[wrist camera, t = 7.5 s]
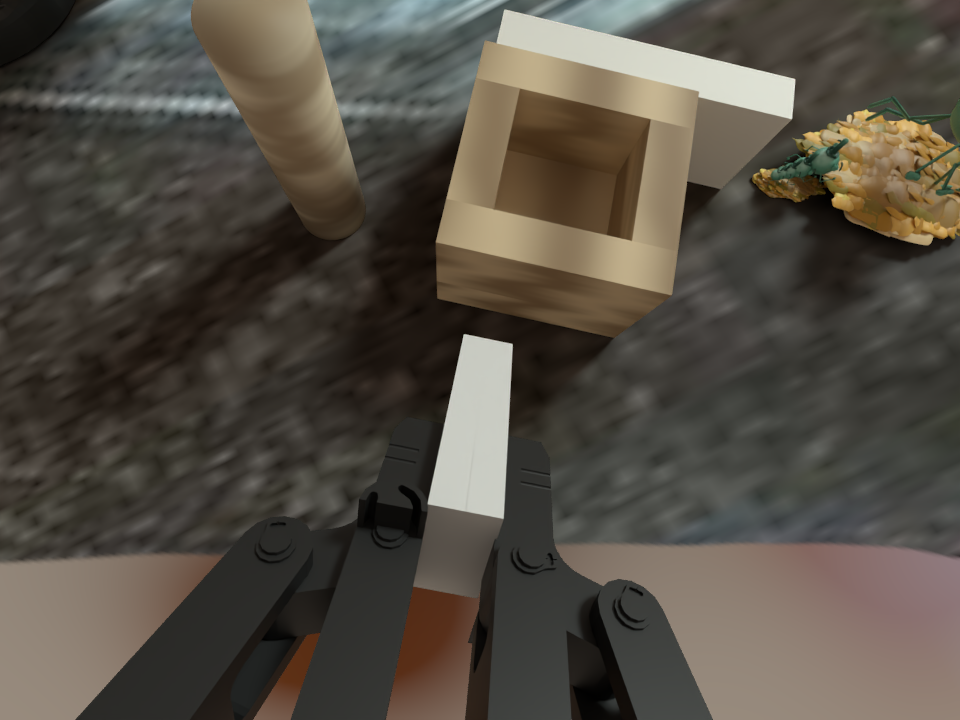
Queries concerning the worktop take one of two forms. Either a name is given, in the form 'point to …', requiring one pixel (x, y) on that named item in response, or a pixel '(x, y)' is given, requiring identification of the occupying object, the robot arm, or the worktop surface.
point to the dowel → (286, 104)
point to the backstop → (722, 86)
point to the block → (566, 192)
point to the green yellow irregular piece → (880, 173)
